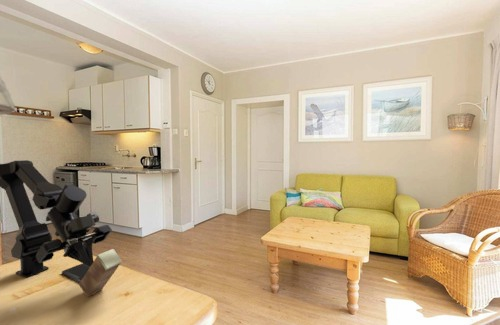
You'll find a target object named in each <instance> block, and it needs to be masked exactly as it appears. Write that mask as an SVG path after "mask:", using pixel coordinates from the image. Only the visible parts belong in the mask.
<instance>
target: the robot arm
mask: <svg viewBox="0 0 500 325" xmlns="http://www.w3.org/2000/svg"><path fill="white" fill-rule="evenodd" d="M25 186H26V187H27V188H28V189H29V190H30V191H31V192H32V194H33V196H32V199H31V200H32V202H33V204H34V206H36V207H37V209H39V210H47V209H50V210H49V211H48V212H47V215H46V218H45V221H46V222H51V224H52V225H53V227H54V228H55V233H54V234H55V236H56V237H59V238H56V239H53V237H52V234H51V232H50V230H49V228H48V225H47V223H45V222H42V223H41V222H40V221H38V220H37V217H36V214H35V211H34V209H33V206H32V204H31V200H30V198H29V196H28V193H27V190H26V187H25ZM0 188H1V189H3V190H4V191H5V194H6V196H7V198H8V201H9V204H10V207H11V210H12V212H13V216H14V218H15V221H16V224H17V226H18V231H17V234H16V236H15V243H14V245H13V246H12V248H11V249H10V250H11V251H10V252H11V257H12V258H15V259H18V260H20V262H19V263H20V270H17V271H15V274H16V275H18V276H22V277H25V278H29V277H30V276H33V275H36V274H38V273H42V272H44V271H46V270H49V266H46V265H44V263H45V262H47V261H50V260H52V259H53V257H54V256H55V255H54V253H56V252H60V251H62V250H63V252H64V253H63V255H62V256H63V257H64V258H66V257H68V258H70V259H73V260H76V261H77V262H80V264H85V265H87V266H89V267H90V266H91V265H92V263H93V262H94V255H93V253H94V252H93V244H98V243H101V242H103V241H105V240H106V239H107V238H108V236H109V235H110V234H111V232H112V231H113V229H112V228H111V226H110V225H109V224H103V225H100V226H96V223H99V221H100V217H99V215H98V213H97V212H95V211H93V212H89V213H88V214H87V215H85V216H81V217H76V215H75V213H76V212H77V211H78V210H79V209H80V207H81V205H82V204H83V203H84V201H85V200H86V198H87V193H86V192H87V191H86V190H84V189H82V188H81V187H79V186H75V185H74V184H73V183H70V184H69V183H68V184H65V185H64V186H63V188H62V187H61V186H59V185H58V184H55V183H52V182H49V180H47V179H46V177H45V176H43V175H42V174H41V172H40V171H39V170H38V169H37V168H36V167H35V166H34V164H33V161H31V160H28V159H26V160H23V159H22V160H13V161H10V162H6V163H0ZM94 226H96V227H95V228H94V230H93V231H92V232H91V233H89V232H90V230H91V229H90V228H92V227H94ZM87 233H88V234H87Z"/></svg>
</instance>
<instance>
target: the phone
mask: <svg viewBox="0 0 500 325" xmlns="http://www.w3.org/2000/svg"><path fill="white" fill-rule="evenodd" d="M89 268H90V267H89V266H87V265H85V264H83V263H80V264H77V265H75V266H72V267H70V268H66V269H64V270H62V272H61V275H62V276H64V277H67V278H68V279H70V280H73V281H75V282H77V283H78V284H79V283H80V282H81V280H82V279H83V277H84V276H85V274H86V273H87V271H88V270H89Z"/></svg>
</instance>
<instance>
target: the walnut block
mask: <svg viewBox="0 0 500 325" xmlns="http://www.w3.org/2000/svg"><path fill="white" fill-rule="evenodd" d="M93 261H94V262H93V263H92V265H91V266H90V268H89V270H88V271H87V273H86V274H85V276H84V277H83V279H82V280H81V282H80V283H79V282H78V285H79V287H80V288H81V290H82V291H83V293H84V294H85V296H86V298H88V297H90V296H92V295H94V294H96V293H97V292H100V291H101V290H103V289H104V288H105V287H106V285H107V283H108V282H109V280H110V279H111V277H112V276H113V274H115V272H116V270H117V269H118V268H119V266H121V263H122V262H123V260H122V259H121V258H120V256H119V255H118V253H117V252H116V250H115V249H114V248H111V249H109V250H107V251H104V252H101V253H99V254H97V256H96V257H95V259H93Z"/></svg>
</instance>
